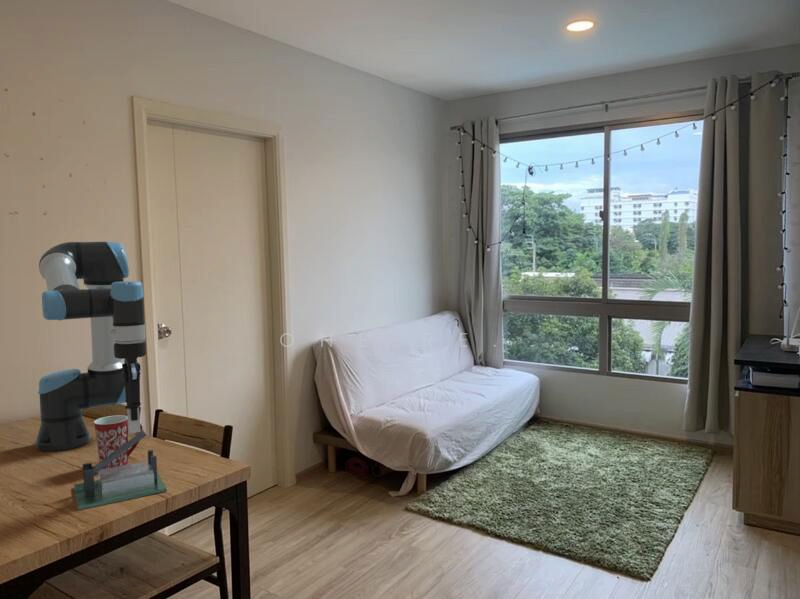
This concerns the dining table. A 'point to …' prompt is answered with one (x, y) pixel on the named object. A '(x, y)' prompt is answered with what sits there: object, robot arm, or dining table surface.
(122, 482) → the heatsink assembly
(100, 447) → the mug
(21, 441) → the dining table surface
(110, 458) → the strap
